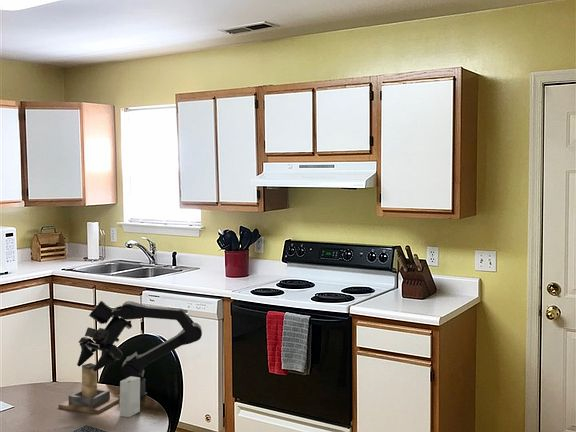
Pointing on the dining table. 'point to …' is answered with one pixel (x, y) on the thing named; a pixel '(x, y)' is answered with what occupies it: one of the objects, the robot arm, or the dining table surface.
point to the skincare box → (129, 396)
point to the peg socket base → (90, 402)
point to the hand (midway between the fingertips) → (85, 368)
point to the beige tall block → (89, 381)
